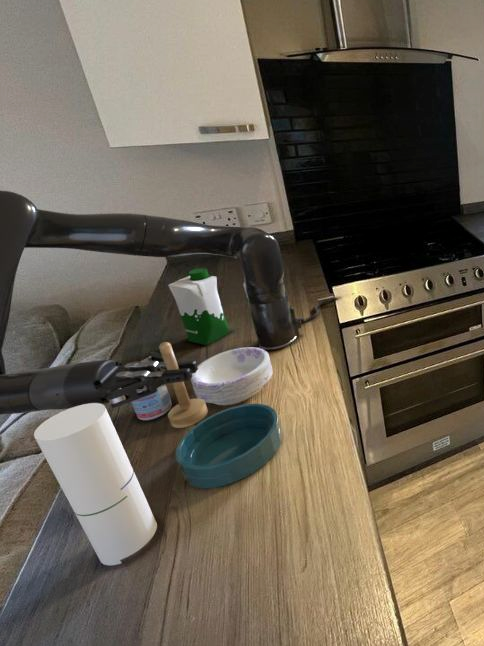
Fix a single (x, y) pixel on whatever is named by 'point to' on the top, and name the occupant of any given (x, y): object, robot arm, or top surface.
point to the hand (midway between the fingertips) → (193, 370)
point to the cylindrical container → (97, 480)
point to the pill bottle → (153, 404)
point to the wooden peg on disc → (182, 396)
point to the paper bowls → (232, 375)
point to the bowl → (229, 445)
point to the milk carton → (200, 307)
